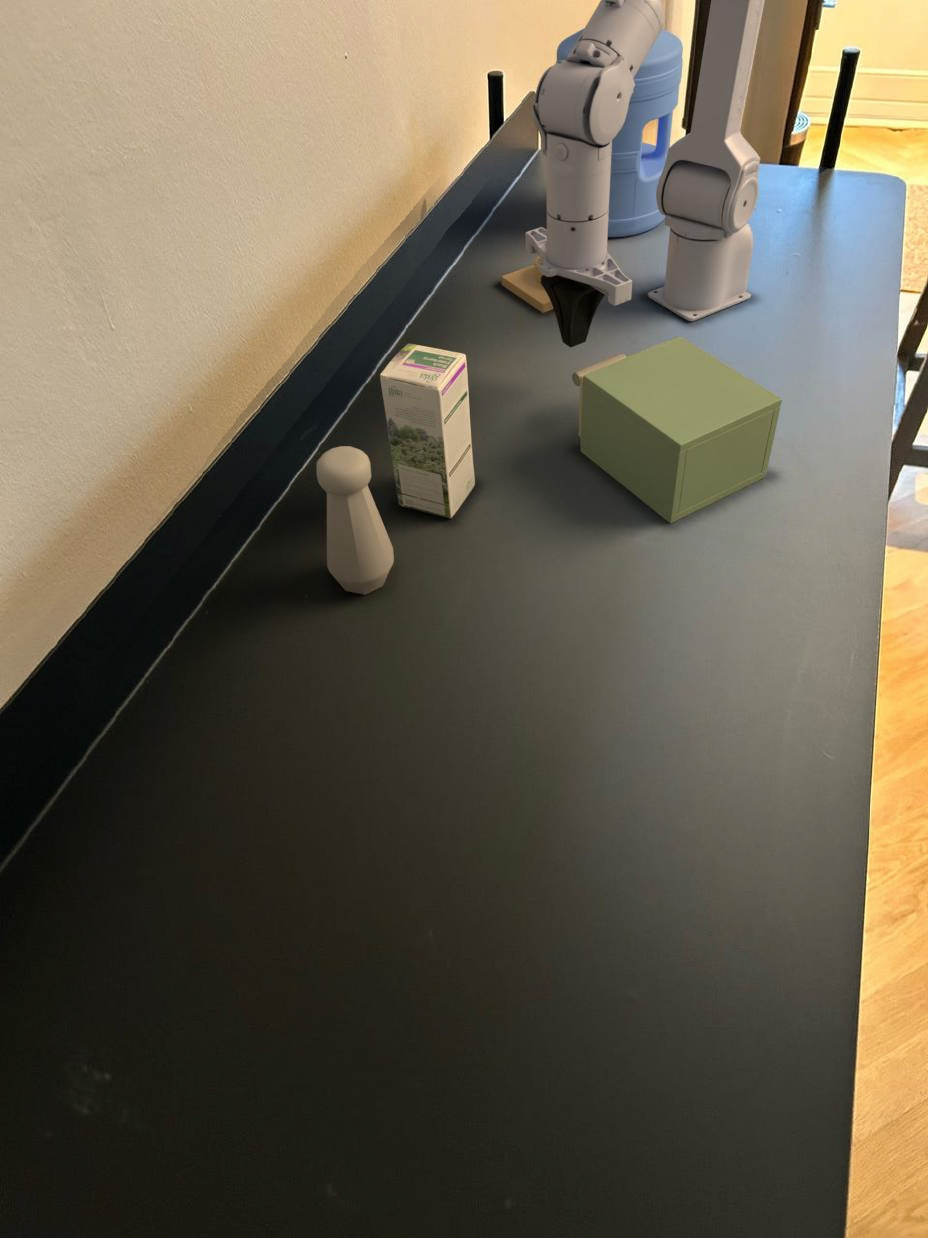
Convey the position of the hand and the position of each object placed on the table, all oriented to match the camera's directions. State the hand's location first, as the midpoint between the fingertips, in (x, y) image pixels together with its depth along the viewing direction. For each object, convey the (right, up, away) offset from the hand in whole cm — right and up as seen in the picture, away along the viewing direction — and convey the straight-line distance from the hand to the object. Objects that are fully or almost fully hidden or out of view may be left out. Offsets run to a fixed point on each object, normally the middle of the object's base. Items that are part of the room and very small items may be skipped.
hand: (574, 341), depth 97 cm
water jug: (+9, +27, +34) cm, 44 cm away
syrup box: (-14, -17, -7) cm, 23 cm away
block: (+1, +13, +21) cm, 24 cm away
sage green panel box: (+9, -13, -6) cm, 17 cm away
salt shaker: (-20, -25, -14) cm, 35 cm away
